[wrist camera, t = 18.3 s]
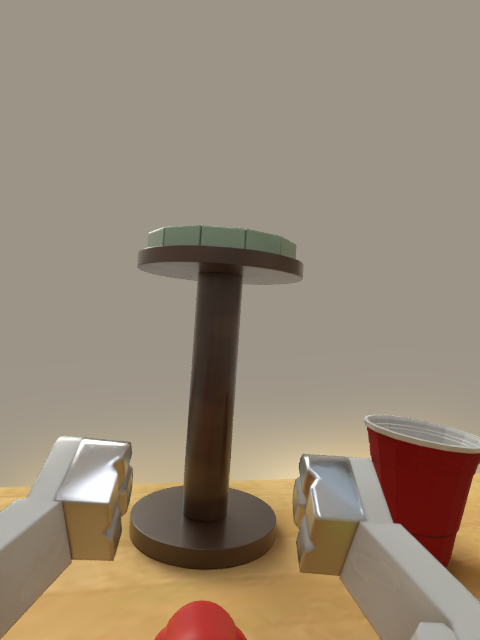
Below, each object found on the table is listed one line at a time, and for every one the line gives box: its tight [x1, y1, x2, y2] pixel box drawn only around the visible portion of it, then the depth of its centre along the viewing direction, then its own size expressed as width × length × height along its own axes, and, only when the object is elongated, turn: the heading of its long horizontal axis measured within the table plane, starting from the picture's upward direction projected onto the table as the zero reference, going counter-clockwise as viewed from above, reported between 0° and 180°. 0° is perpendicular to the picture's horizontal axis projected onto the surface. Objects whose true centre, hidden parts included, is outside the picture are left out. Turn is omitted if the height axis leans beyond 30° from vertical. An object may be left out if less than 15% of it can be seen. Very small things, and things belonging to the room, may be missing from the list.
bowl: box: [147, 225, 296, 259], centre depth 42 cm, size 14×14×2 cm
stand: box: [130, 245, 303, 569], centre depth 42 cm, size 16×16×26 cm
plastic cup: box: [364, 415, 480, 568], centre depth 39 cm, size 11×11×12 cm
